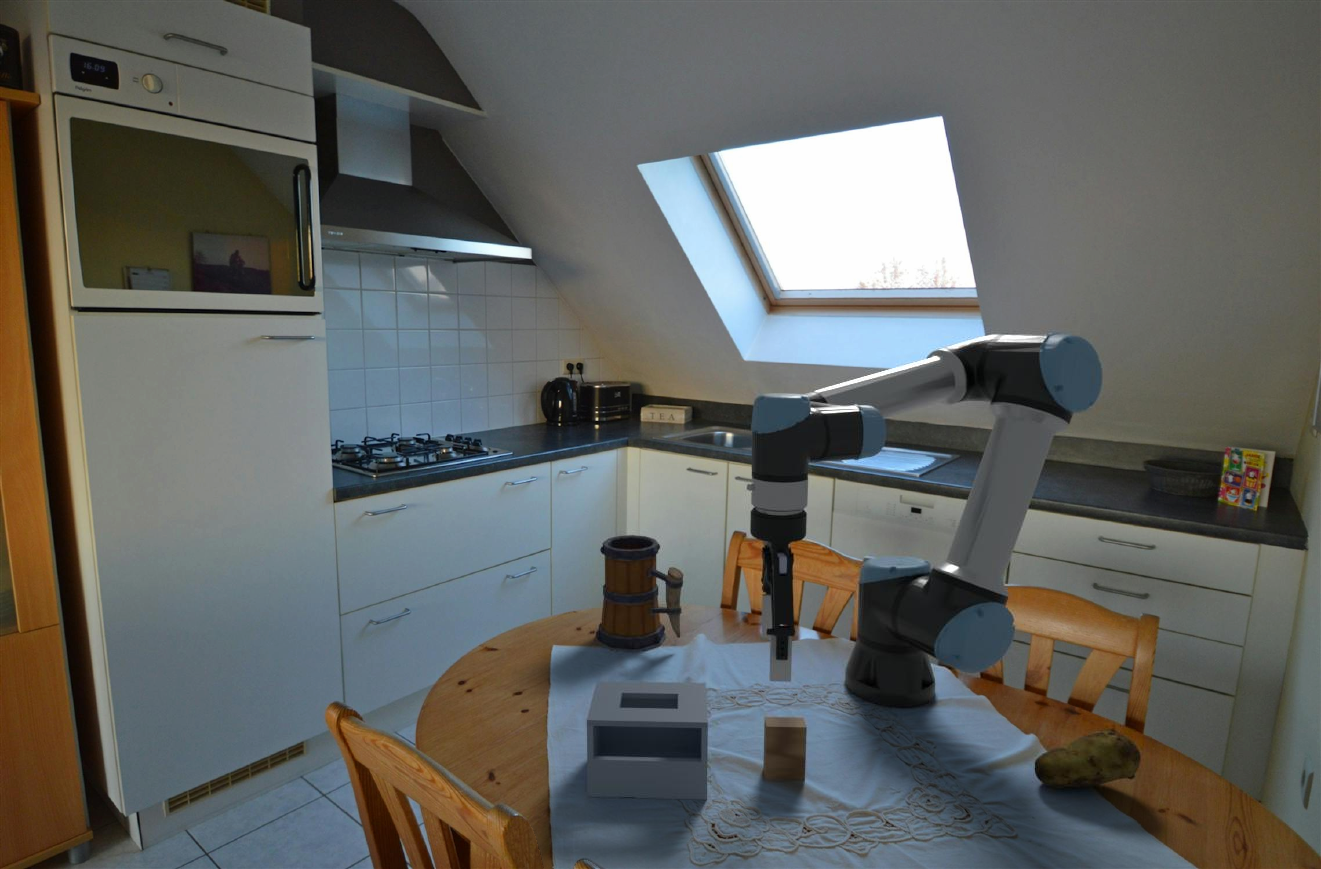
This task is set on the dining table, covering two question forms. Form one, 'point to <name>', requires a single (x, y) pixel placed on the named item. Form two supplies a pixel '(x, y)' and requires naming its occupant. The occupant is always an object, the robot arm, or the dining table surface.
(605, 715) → the coin box
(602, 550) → the mug
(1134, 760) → the potato
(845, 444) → the robot arm
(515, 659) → the dining table surface
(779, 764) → the brown wooden block
